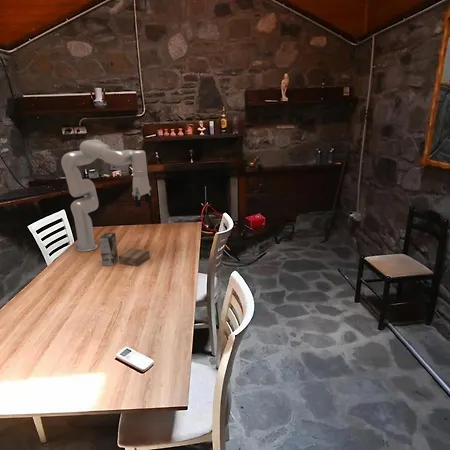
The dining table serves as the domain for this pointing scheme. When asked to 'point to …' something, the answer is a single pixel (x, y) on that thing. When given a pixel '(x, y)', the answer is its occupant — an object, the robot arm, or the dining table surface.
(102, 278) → the dining table surface
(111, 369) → the dining table surface
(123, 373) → the dining table surface
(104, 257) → the coffee box
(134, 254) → the walnut block
